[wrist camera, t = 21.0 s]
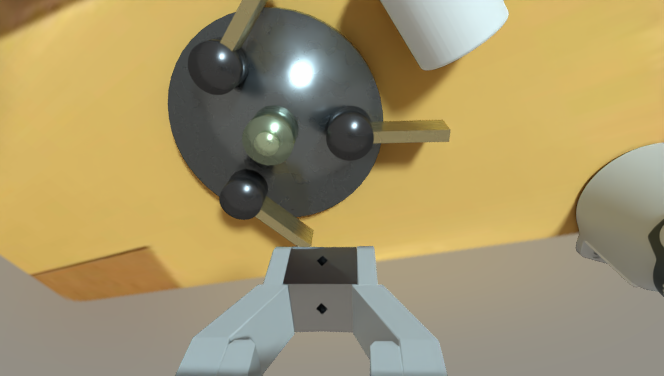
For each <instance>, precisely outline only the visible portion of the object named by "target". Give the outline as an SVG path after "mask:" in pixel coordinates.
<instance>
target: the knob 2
mask: <svg viewBox="0 0 664 376" xmlns="http://www.w3.org/2000/svg"><path fill="white" fill-rule="evenodd" d="M267 193H268V185H267V182H266V180H265V179H264V177H263V176H262V175H261V174H259V173H258V172H256V171H253V170H249V169H242V170H239V171H237V172H235V173H234V174H233V175H232V176H231V178H230V179H229V181H228V182H227V184H226V185H225V187H224V188H223V190H222V191H221V193H220V197H219V200H220V204H221V207H222V208H223V210H224V211H225V212H226V213H227V214H228V215H230V216H232V217H234V218H237V219H242V220H245V219H251V218H253V217H256V218H258V219H259V220H261V221H262V222H264V223H265V224H266V225H268V226H269V227H271V228H272V229H273V230H275V231H276V232H278V233H279V234H281V235H282V236H283V237H285V238H286V239H288V240H289V241H290V242H292V243H293V244H295V245H296V246H298V247H310V246H311V244H312V237H313V231H314V230H312V229H311V228H310V227H308V226H307V225H306V224H304V223H303V222H301V221H300V220H299V219H297V218H296V217H295V216H293V215H292V214H291V213H289V212H288V211H287V210H285V209H284V208H282V207H281V206H280V205H278V204H277V203H276V202H274V201H273V200H272V199H270V198H269V197H268V196H267Z"/></svg>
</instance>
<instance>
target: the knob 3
mask: <svg viewBox="0 0 664 376" xmlns="http://www.w3.org/2000/svg"><path fill="white" fill-rule="evenodd" d="M449 137H450V128H449V127H448V126H447V124H446V123H445V122H444V120H417V121H382V122H371V119H370V117H369V115H368V114H367V113H366V112H365V111H364V110H363V109H361V108H359V107H356V106H344V107H341V108H339V109H338V110H336V111H335V112H334V113H333V114H332V116H331V117H330V120H329V123H328V129H327V135H326V142H327V146H328V148H329V150H330V151H331V153H332V154H333V155H335V156H336V157H338V158H340V159H342V160H347V161H353V160H357V159H360V158H362V157H364V156H365V155H366V154H367V153H368V152H369V151H370V150H371V148H372V145H373V143H412V142H449Z"/></svg>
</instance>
